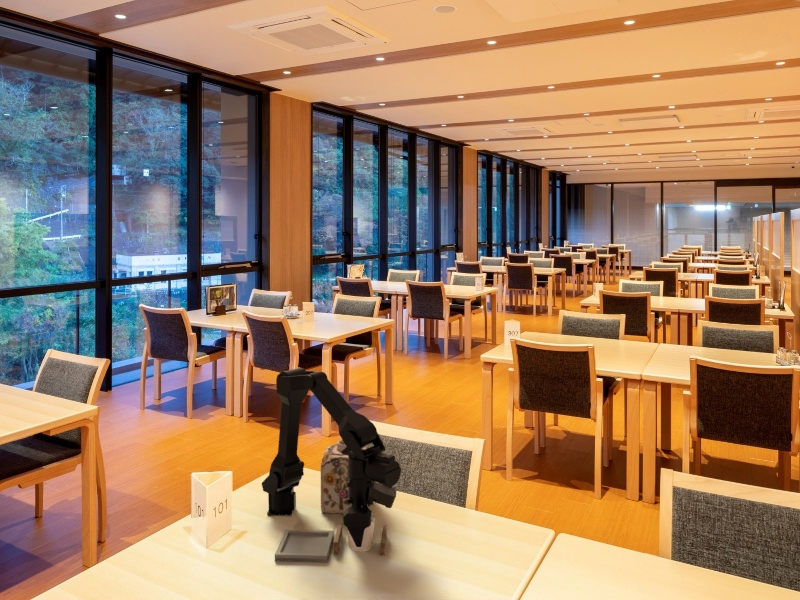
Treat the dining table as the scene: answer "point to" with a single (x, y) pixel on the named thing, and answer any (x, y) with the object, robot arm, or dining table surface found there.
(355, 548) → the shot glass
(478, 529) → the dining table surface
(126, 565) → the dining table surface
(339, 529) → the wooden pieces
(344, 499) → the decorative jar
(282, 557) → the tray
